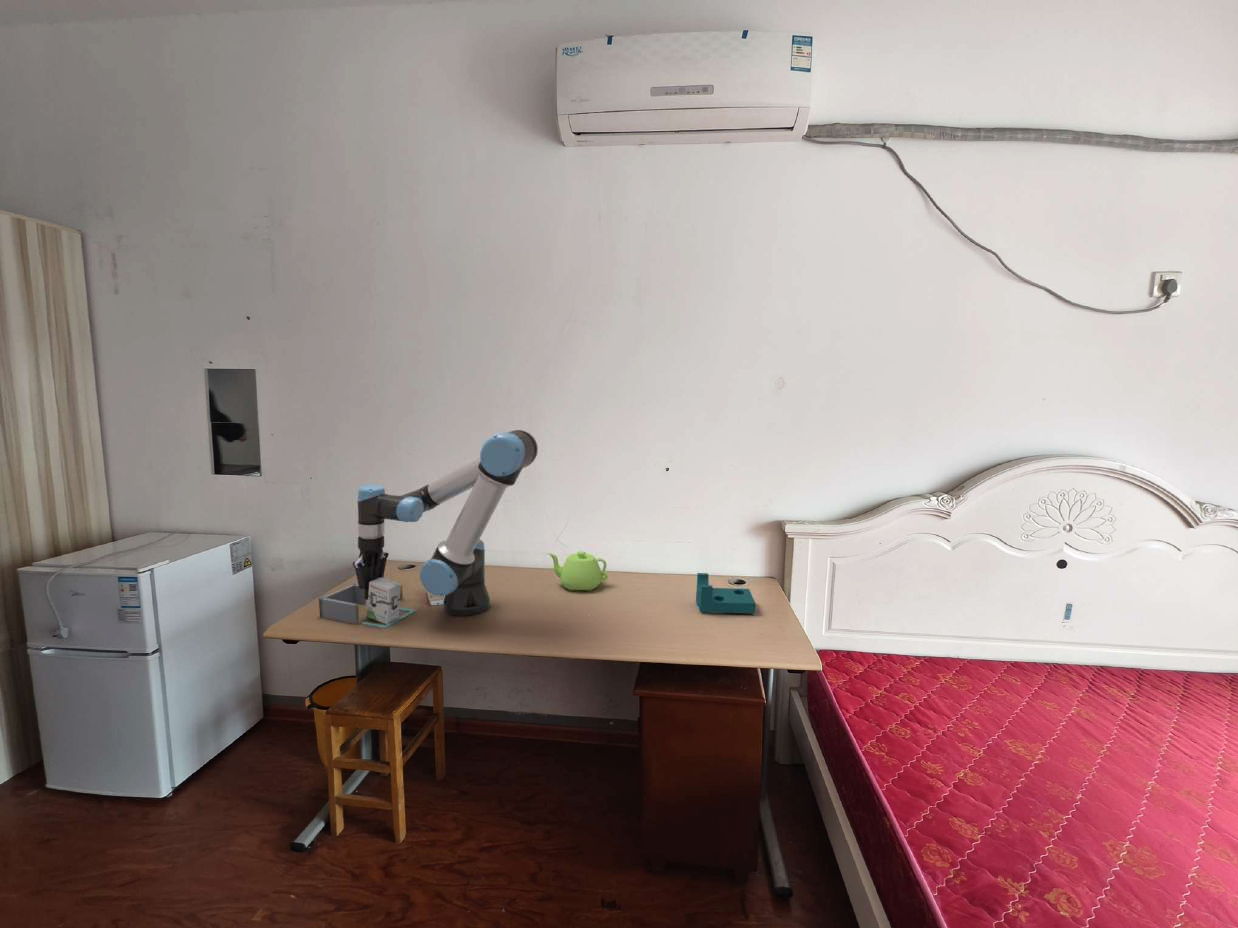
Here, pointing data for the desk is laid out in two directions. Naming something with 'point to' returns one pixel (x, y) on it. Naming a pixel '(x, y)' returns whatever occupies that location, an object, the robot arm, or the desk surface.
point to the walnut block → (401, 593)
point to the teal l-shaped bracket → (722, 598)
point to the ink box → (383, 600)
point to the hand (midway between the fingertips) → (371, 607)
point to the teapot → (580, 571)
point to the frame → (392, 621)
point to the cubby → (343, 604)
